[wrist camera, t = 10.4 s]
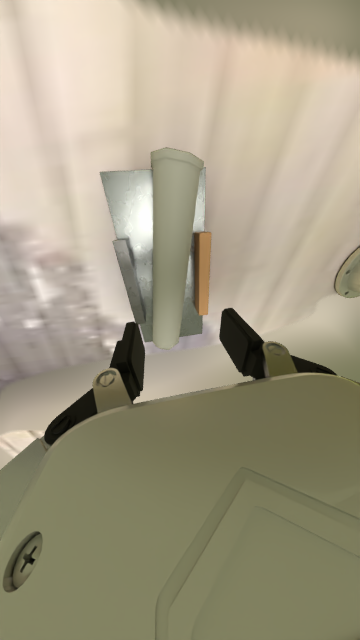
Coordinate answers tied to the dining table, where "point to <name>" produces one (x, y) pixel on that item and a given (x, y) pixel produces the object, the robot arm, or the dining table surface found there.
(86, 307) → the dining table surface
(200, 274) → the bar
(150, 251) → the galvanized metal plate
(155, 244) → the tube
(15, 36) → the dining table surface
